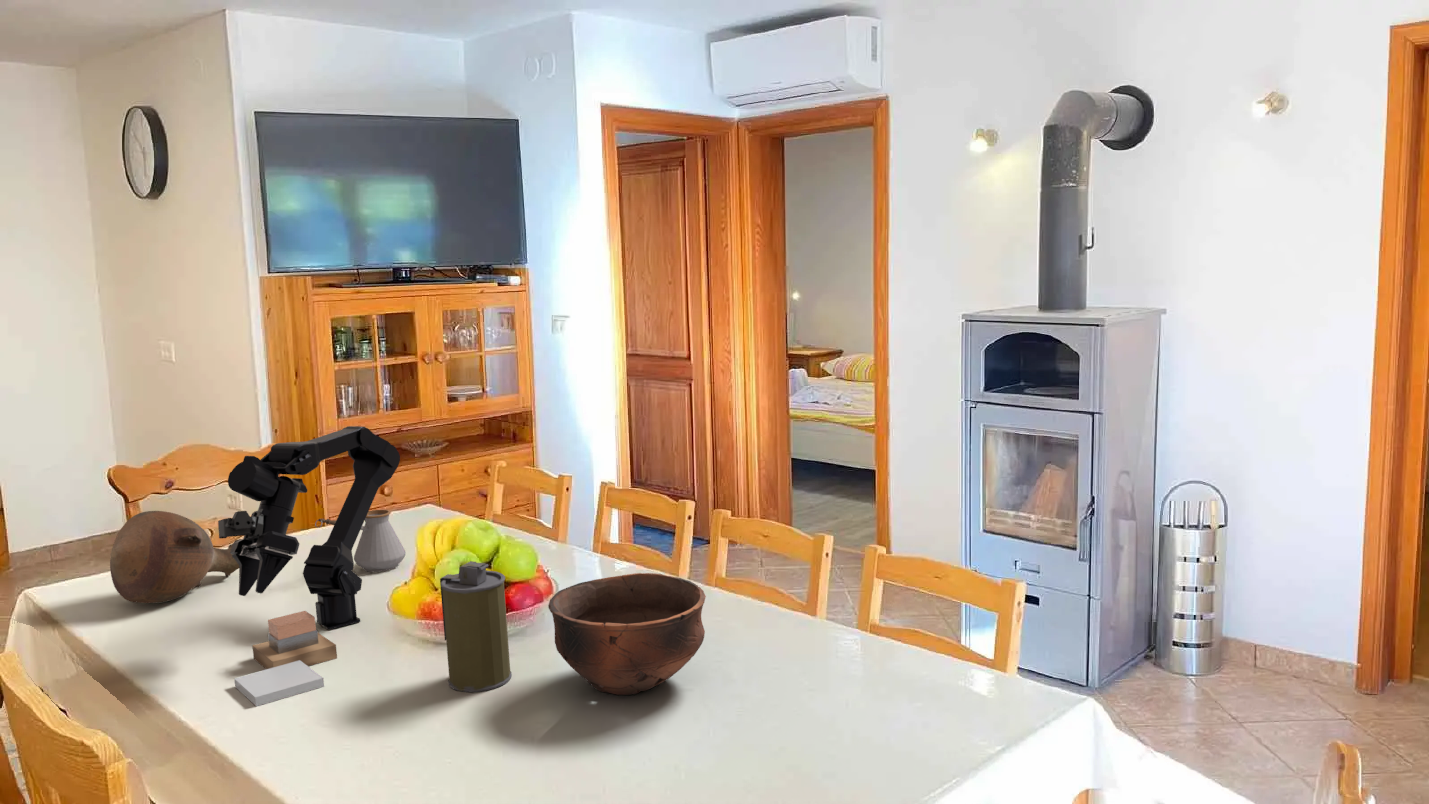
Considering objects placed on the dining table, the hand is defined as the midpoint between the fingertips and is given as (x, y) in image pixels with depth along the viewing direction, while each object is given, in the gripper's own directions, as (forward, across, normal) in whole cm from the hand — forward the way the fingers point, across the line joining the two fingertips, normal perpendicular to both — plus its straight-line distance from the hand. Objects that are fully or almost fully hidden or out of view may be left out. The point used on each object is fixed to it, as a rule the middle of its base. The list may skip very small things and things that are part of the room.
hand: (250, 594), depth 189 cm
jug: (-4, -56, +3) cm, 56 cm away
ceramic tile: (+15, +9, +6) cm, 19 cm away
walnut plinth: (+9, -1, +11) cm, 14 cm away
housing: (+7, 0, +10) cm, 12 cm away
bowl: (+6, +51, +48) cm, 71 cm away
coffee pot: (-15, -40, +34) cm, 55 cm away
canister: (+9, +32, +31) cm, 45 cm away
